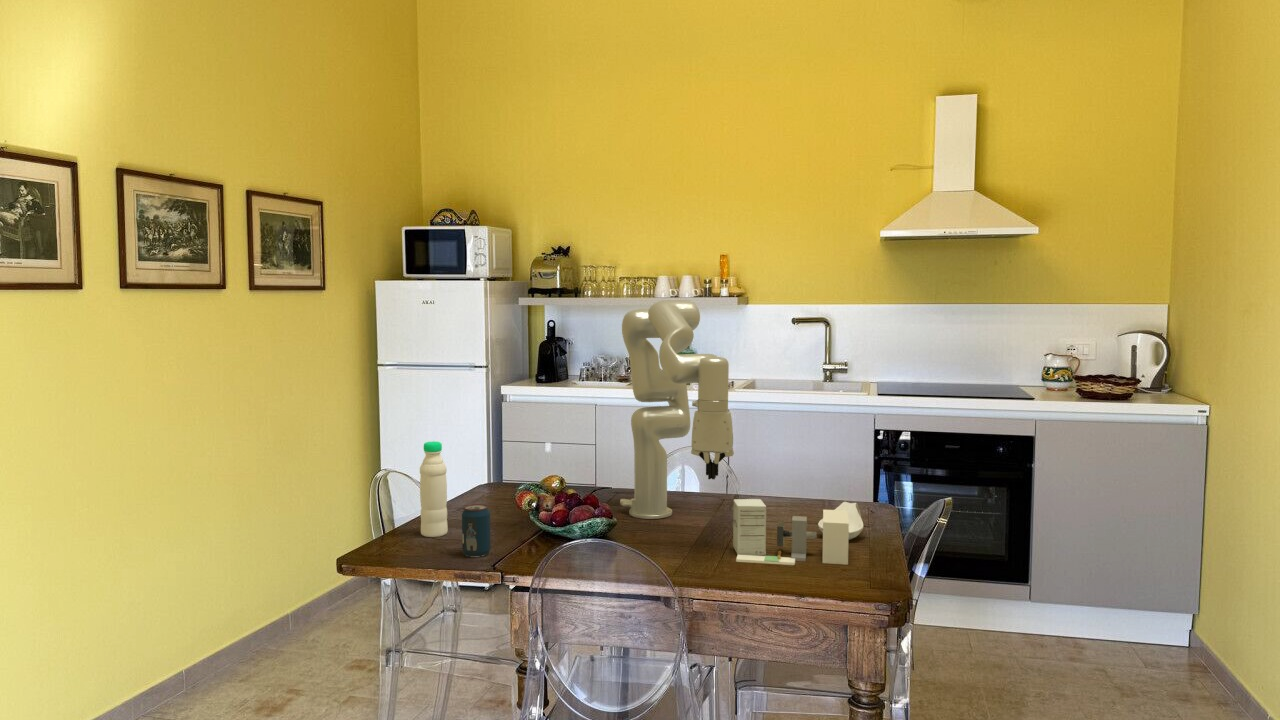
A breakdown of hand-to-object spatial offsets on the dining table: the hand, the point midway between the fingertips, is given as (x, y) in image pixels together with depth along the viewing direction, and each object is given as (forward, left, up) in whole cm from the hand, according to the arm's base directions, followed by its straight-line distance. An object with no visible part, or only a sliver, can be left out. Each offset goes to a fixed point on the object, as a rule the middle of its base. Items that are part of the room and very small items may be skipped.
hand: (712, 478), depth 230 cm
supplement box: (+10, 0, -18) cm, 21 cm away
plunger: (+21, -2, -17) cm, 28 cm away
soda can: (-57, -16, -18) cm, 62 cm away
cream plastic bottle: (-75, -1, -18) cm, 77 cm away
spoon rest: (+33, +23, -19) cm, 45 cm away
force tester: (+20, -2, -18) cm, 27 cm away
